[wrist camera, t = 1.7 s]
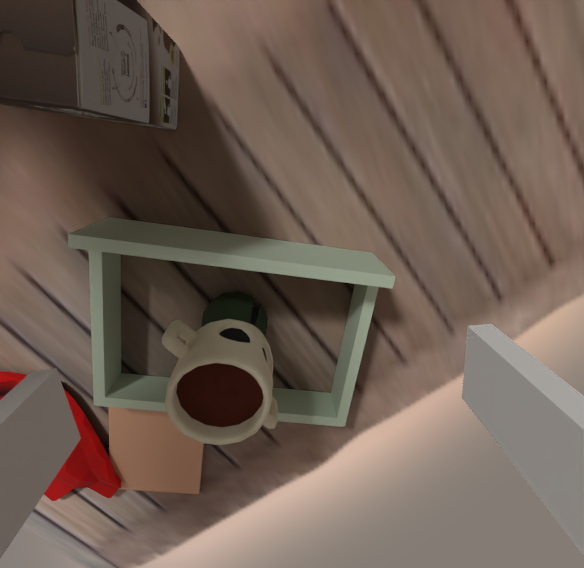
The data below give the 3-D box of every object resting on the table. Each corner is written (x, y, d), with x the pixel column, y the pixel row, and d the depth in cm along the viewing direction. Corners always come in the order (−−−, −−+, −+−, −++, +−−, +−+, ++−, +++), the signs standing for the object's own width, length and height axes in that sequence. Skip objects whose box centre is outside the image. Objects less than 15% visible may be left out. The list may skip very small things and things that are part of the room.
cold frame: (111, 380, 38) (78, 428, 32) (108, 216, 32) (67, 233, 26) (338, 401, 41) (350, 450, 34) (372, 252, 35) (395, 276, 28)
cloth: (160, 459, 41) (153, 476, 39) (80, 520, 44) (69, 539, 41) (-52, 293, 34) (-75, 302, 32) (-131, 378, 37) (-157, 392, 34)
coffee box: (180, 42, 28) (77, -80, 13) (178, 132, 31) (85, 114, 15) (56, 21, 28) (-208, -136, 12) (62, 115, 30) (-157, 79, 14)
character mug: (299, 331, 37) (313, 418, 25) (250, 374, 39) (241, 477, 27) (219, 256, 34) (191, 315, 22) (169, 306, 36) (116, 387, 24)
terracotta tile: (112, 482, 43) (109, 488, 42) (111, 396, 39) (108, 401, 38) (200, 488, 44) (199, 494, 43) (207, 404, 40) (206, 409, 39)
